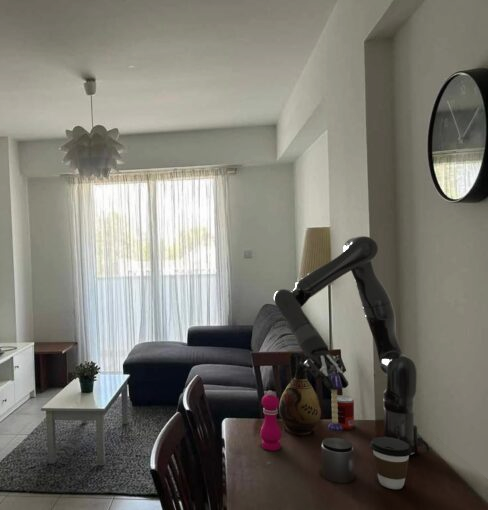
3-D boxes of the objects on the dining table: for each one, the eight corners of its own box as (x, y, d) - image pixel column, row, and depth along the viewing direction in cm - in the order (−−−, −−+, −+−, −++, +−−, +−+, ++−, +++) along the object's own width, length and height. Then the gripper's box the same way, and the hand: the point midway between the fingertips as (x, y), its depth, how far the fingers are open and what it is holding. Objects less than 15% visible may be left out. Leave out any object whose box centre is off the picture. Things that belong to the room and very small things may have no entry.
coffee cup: (411, 497, 129) (410, 454, 129) (368, 487, 135) (367, 446, 135) (413, 480, 138) (412, 440, 138) (372, 472, 144) (372, 433, 144)
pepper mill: (279, 443, 167) (278, 387, 167) (283, 451, 160) (282, 393, 160) (259, 442, 168) (258, 387, 168) (262, 451, 160) (261, 393, 160)
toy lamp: (324, 426, 144) (323, 372, 144) (338, 425, 144) (337, 372, 144) (331, 432, 139) (330, 376, 139) (346, 431, 140) (345, 376, 140)
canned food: (353, 423, 184) (352, 396, 184) (355, 430, 177) (354, 402, 177) (332, 421, 187) (332, 394, 187) (333, 428, 179) (333, 400, 179)
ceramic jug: (330, 435, 173) (328, 355, 173) (293, 440, 169) (291, 358, 169) (304, 420, 189) (302, 346, 189) (269, 424, 185) (268, 349, 185)
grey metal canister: (348, 469, 146) (347, 437, 146) (357, 483, 137) (357, 449, 137) (318, 468, 147) (318, 437, 147) (326, 482, 138) (325, 448, 138)
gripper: (298, 336, 146) (328, 384, 135) (332, 332, 151) (364, 378, 140) (287, 350, 151) (315, 397, 140) (321, 345, 156) (350, 391, 145)
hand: (339, 387), depth 140 cm, fingers closed on toy lamp, 4 cm apart
